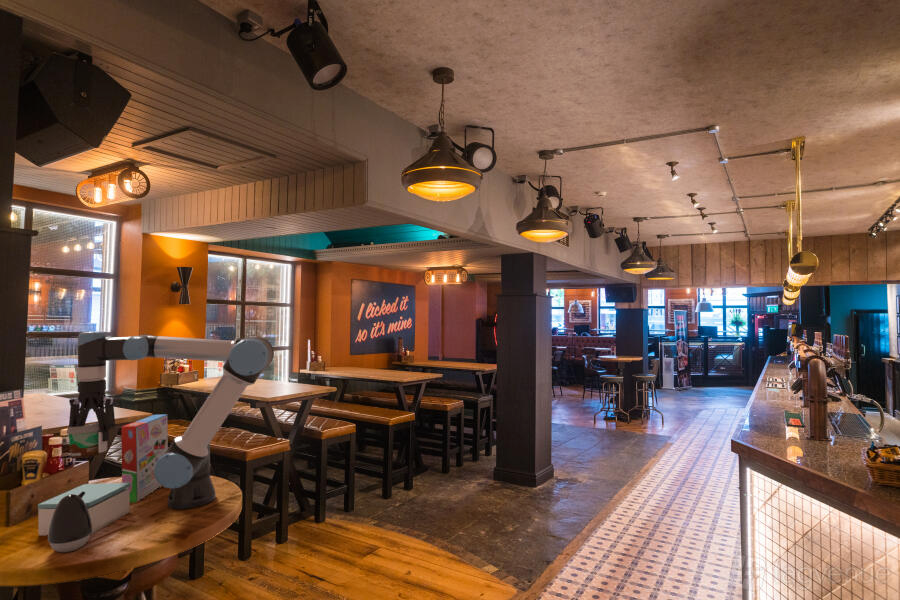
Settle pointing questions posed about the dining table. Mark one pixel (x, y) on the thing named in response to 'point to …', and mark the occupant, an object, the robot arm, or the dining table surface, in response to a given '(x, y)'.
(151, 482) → the game box
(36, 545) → the dining table surface
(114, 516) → the cream box
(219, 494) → the dining table surface
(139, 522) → the dining table surface
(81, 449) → the food container
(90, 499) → the box lid
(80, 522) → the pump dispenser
